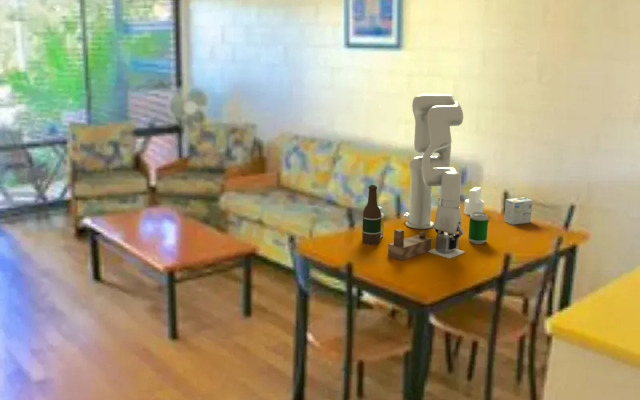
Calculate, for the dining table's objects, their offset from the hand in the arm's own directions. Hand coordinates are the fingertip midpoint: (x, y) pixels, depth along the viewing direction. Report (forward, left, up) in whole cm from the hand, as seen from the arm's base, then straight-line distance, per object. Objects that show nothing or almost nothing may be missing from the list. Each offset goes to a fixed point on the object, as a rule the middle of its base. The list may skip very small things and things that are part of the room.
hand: (446, 246), depth 267 cm
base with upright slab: (-27, +57, -3) cm, 63 cm away
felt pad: (0, 0, -2) cm, 2 cm away
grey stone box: (0, 0, -1) cm, 1 cm away
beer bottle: (-29, -13, -3) cm, 32 cm away
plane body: (-9, -12, -2) cm, 15 cm away
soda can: (0, +21, -3) cm, 21 cm away
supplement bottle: (-33, -6, -3) cm, 34 cm away
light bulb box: (-5, +60, -3) cm, 60 cm away
